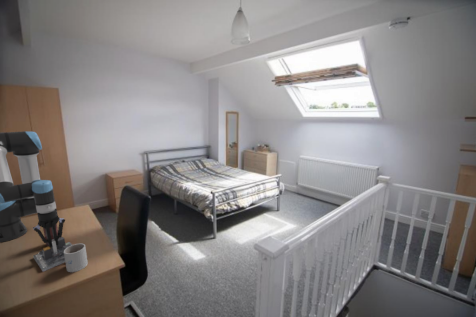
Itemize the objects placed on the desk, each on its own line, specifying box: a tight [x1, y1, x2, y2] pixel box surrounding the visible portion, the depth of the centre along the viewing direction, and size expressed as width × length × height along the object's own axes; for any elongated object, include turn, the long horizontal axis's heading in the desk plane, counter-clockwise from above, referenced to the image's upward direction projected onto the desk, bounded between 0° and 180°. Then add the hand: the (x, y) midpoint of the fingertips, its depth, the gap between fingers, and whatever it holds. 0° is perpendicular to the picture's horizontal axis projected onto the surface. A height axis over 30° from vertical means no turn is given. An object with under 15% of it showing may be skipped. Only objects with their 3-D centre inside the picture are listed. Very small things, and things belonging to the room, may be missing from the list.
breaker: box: [57, 236, 66, 249], centre depth 122 cm, size 3×3×5 cm
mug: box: [64, 243, 89, 273], centre depth 110 cm, size 12×9×10 cm
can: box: [42, 223, 58, 247], centre depth 127 cm, size 6×6×14 cm
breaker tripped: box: [41, 246, 53, 260], centre depth 113 cm, size 3×3×5 cm
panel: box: [32, 241, 73, 273], centre depth 117 cm, size 17×16×2 cm
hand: (54, 251), depth 116 cm, fingers closed
